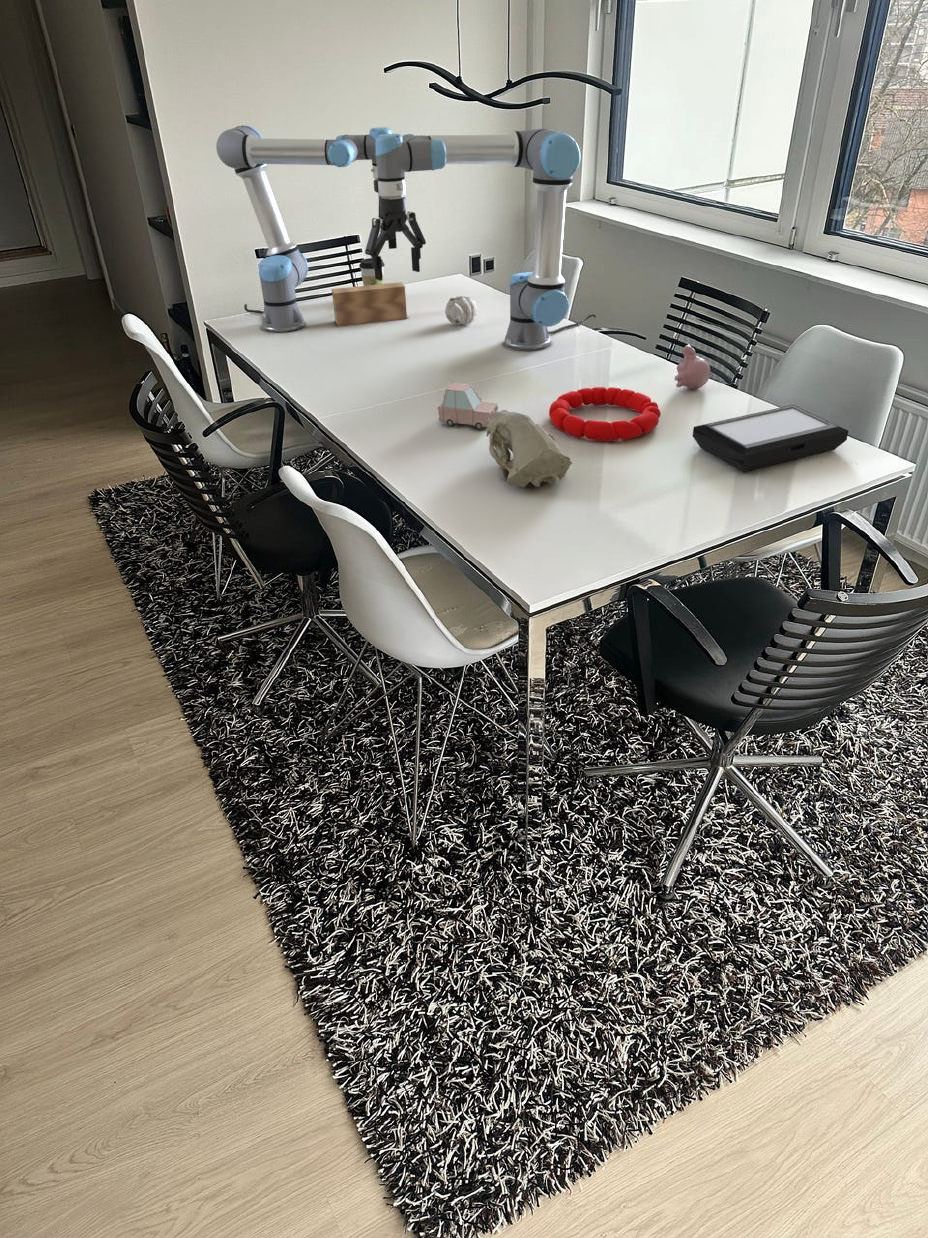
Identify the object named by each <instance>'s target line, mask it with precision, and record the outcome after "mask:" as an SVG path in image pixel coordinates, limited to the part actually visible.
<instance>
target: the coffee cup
mask: <svg viewBox="0 0 928 1238" xmlns="http://www.w3.org/2000/svg"><path fill="white" fill-rule="evenodd" d="M381 263H382V276H383V280H381V281H380V280H377V279H375V269H374V268H373V267H372V257H370V258H363V259H361V260H360V263H359V265H358V267H359V268H360V272H361V273H360V275H361V279H362V280H361V281H362V286H368V285H378V284H384V280H385V279H384V278H385V277H384V276H385V272H384V267H385V263H384V261H383V259H382V258H381Z"/></svg>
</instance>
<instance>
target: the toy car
mask: <svg viewBox="0 0 928 1238" xmlns="http://www.w3.org/2000/svg"><path fill="white" fill-rule="evenodd" d="M498 409H499V404H498V403H497V402H490V401H489V402H487V401H483V397H481V396H480V395H479V394H478V393H477V391H476V390H475V389H474V386H472V384H469V383H459V382H451V383H450V384H449V385H448V386H447V387H446V388H445V389H444V394H443V399H442V403H440V404H439V405H438V406H437V413H438V421H439V422H443V423H446V425H447V426H448V427H452V426H454V425H455V424H461V425H469V426H473V427H475V429H476V430H479V431H480V430H481V429H483V428H485V427H486V428H487V423H488V422H490V414H491V413H492V412H496V411H499V410H498Z"/></svg>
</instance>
